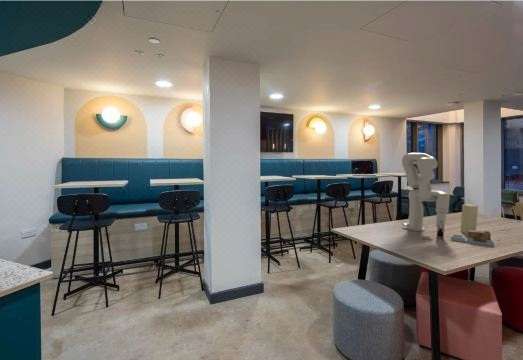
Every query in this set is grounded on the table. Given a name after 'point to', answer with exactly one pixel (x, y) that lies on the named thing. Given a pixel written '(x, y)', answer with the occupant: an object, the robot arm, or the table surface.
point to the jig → (470, 240)
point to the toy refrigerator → (468, 217)
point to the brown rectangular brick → (443, 231)
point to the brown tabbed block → (479, 235)
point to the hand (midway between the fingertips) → (440, 235)
